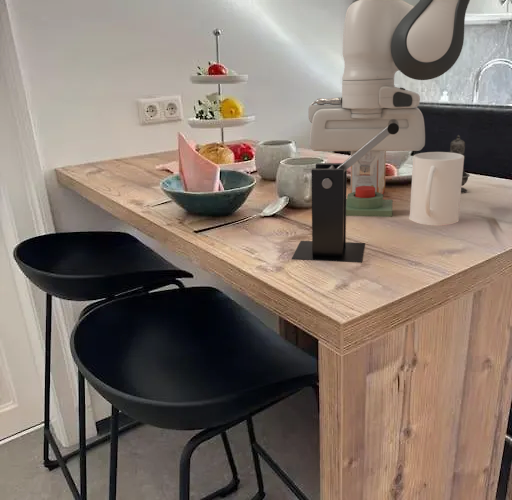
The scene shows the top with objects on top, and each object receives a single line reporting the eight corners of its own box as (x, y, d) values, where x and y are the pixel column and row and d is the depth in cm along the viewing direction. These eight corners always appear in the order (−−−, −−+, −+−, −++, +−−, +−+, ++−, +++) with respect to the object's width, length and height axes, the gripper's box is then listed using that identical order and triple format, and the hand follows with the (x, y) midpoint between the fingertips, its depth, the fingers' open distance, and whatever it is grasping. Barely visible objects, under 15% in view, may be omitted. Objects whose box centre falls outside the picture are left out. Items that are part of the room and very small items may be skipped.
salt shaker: (441, 187, 113) (445, 133, 109) (469, 188, 110) (474, 133, 106) (437, 193, 108) (442, 136, 104) (467, 194, 106) (472, 137, 101)
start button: (375, 194, 95) (375, 185, 94) (374, 199, 91) (374, 190, 91) (355, 194, 96) (356, 185, 95) (354, 199, 92) (354, 190, 92)
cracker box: (358, 190, 114) (360, 94, 107) (385, 191, 112) (389, 93, 105) (348, 206, 101) (349, 99, 94) (378, 207, 99) (382, 98, 92)
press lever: (403, 127, 68) (391, 114, 68) (403, 132, 64) (391, 117, 64) (329, 187, 74) (318, 175, 74) (325, 195, 69) (314, 182, 69)
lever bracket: (364, 250, 77) (367, 161, 73) (361, 269, 70) (364, 172, 65) (300, 247, 80) (299, 161, 75) (291, 266, 73) (289, 172, 68)
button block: (391, 210, 97) (392, 190, 96) (391, 222, 90) (392, 201, 88) (340, 209, 100) (340, 189, 98) (335, 221, 92) (336, 200, 91)
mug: (446, 240, 80) (453, 165, 76) (394, 232, 84) (398, 162, 80) (464, 220, 89) (471, 152, 85) (416, 215, 93) (420, 150, 89)
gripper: (305, 99, 87) (306, 178, 92) (429, 96, 82) (423, 179, 87) (311, 97, 93) (311, 171, 98) (426, 94, 88) (421, 172, 93)
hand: (364, 175), depth 92 cm, fingers closed
